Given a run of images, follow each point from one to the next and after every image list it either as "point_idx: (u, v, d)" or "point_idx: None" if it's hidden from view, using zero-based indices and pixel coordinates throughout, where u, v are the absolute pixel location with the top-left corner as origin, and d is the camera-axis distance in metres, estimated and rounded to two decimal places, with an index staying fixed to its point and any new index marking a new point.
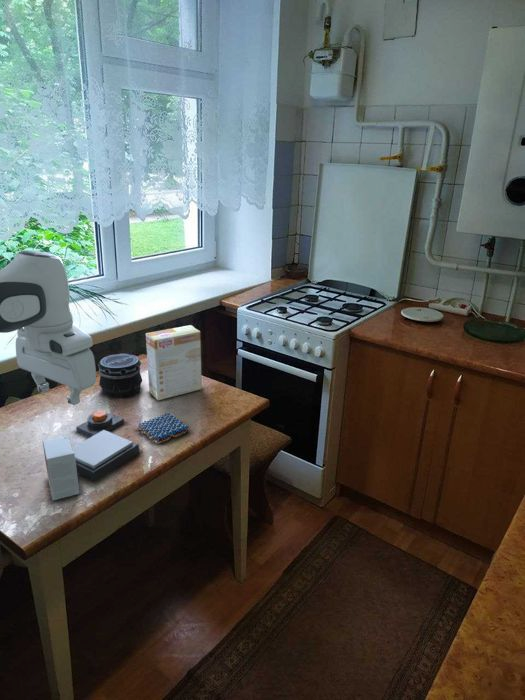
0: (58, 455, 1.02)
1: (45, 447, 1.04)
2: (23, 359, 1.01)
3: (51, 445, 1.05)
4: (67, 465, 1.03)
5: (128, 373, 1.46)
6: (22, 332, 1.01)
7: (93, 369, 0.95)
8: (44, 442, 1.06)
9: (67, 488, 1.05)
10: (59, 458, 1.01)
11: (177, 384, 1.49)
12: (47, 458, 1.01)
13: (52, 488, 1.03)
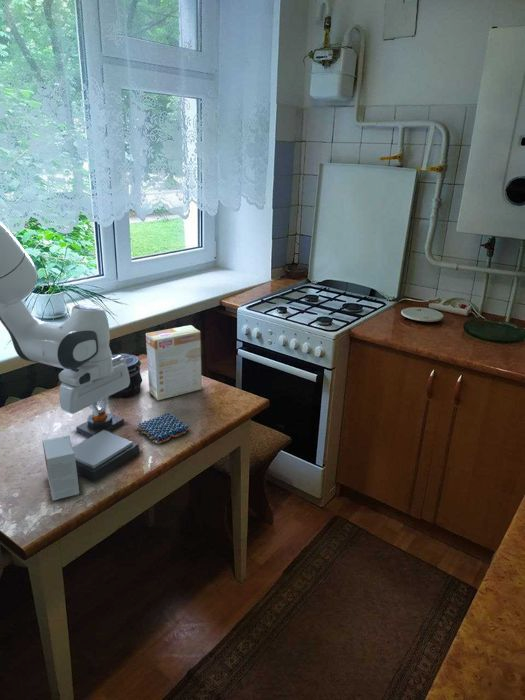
0: (58, 455, 1.02)
1: (45, 447, 1.04)
2: None
3: (51, 445, 1.05)
4: (67, 465, 1.03)
5: None
6: None
7: (68, 402, 1.19)
8: (44, 442, 1.06)
9: (67, 488, 1.05)
10: (59, 458, 1.01)
11: (177, 384, 1.49)
12: (47, 458, 1.01)
13: (52, 488, 1.03)
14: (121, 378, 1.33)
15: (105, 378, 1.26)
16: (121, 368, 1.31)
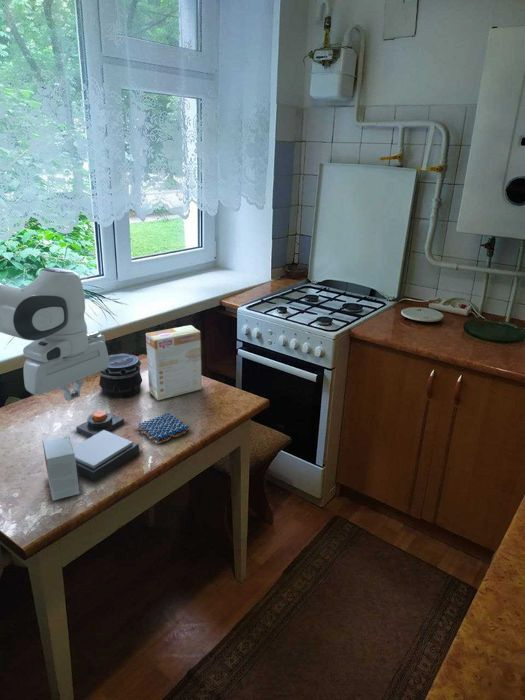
0: (58, 455, 1.02)
1: (45, 447, 1.04)
2: None
3: (51, 445, 1.05)
4: (67, 465, 1.03)
5: (128, 373, 1.46)
6: None
7: (33, 381, 1.01)
8: (44, 442, 1.06)
9: (67, 488, 1.05)
10: (59, 458, 1.01)
11: (177, 384, 1.49)
12: (47, 458, 1.01)
13: (52, 488, 1.03)
14: (99, 358, 1.15)
15: (79, 355, 1.08)
16: (98, 346, 1.14)
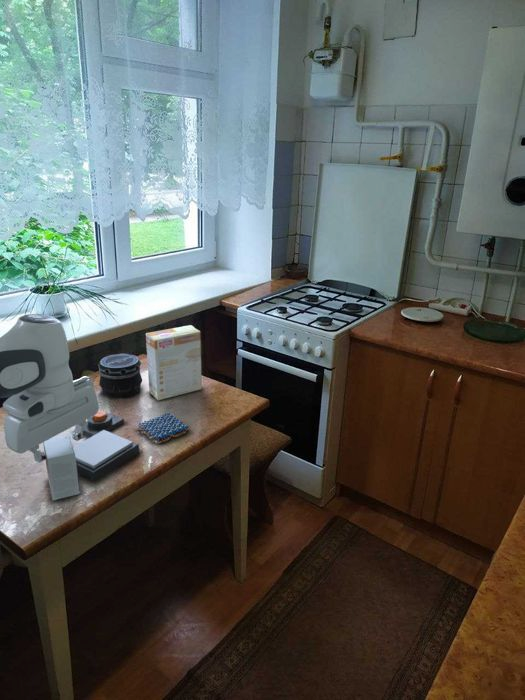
0: (59, 455, 1.02)
1: (45, 447, 1.04)
2: None
3: (51, 445, 1.05)
4: (67, 464, 1.03)
5: (128, 373, 1.46)
6: None
7: (15, 439, 0.94)
8: (44, 442, 1.06)
9: (67, 488, 1.05)
10: (59, 458, 1.01)
11: (177, 384, 1.49)
12: (47, 458, 1.01)
13: (52, 488, 1.03)
14: (87, 405, 1.07)
15: (64, 406, 1.00)
16: (86, 392, 1.06)
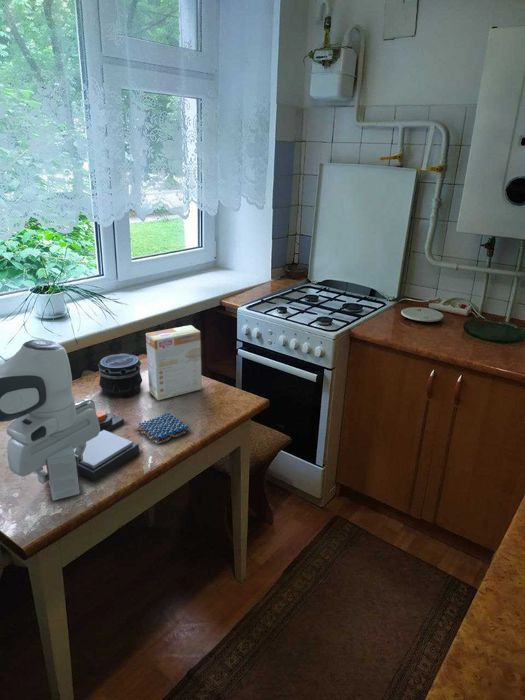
0: (59, 455, 1.02)
1: None
2: None
3: None
4: (67, 465, 1.03)
5: (128, 373, 1.46)
6: None
7: (17, 463, 0.95)
8: None
9: (67, 488, 1.05)
10: (59, 458, 1.01)
11: (177, 384, 1.49)
12: (47, 458, 1.01)
13: (52, 488, 1.03)
14: (89, 427, 1.09)
15: (66, 430, 1.02)
16: (88, 415, 1.08)
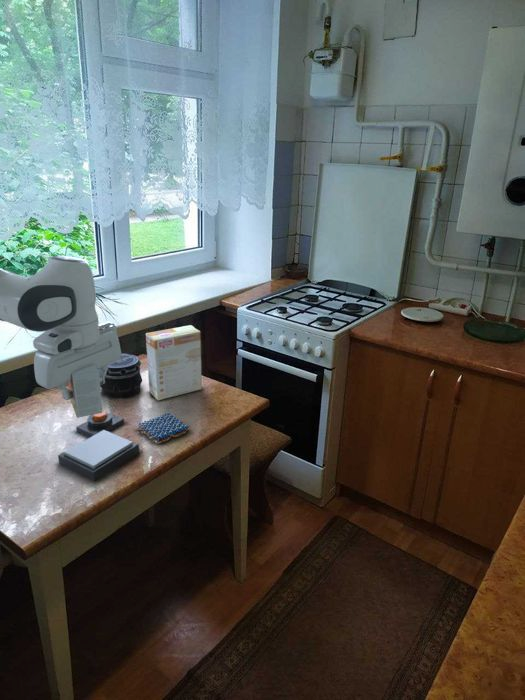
0: (83, 371, 1.04)
1: None
2: None
3: None
4: (91, 381, 1.05)
5: (128, 373, 1.46)
6: None
7: (44, 374, 0.98)
8: None
9: (91, 406, 1.07)
10: (83, 374, 1.04)
11: (177, 384, 1.49)
12: (72, 373, 1.03)
13: (77, 405, 1.06)
14: (110, 349, 1.11)
15: (90, 347, 1.04)
16: (110, 336, 1.10)
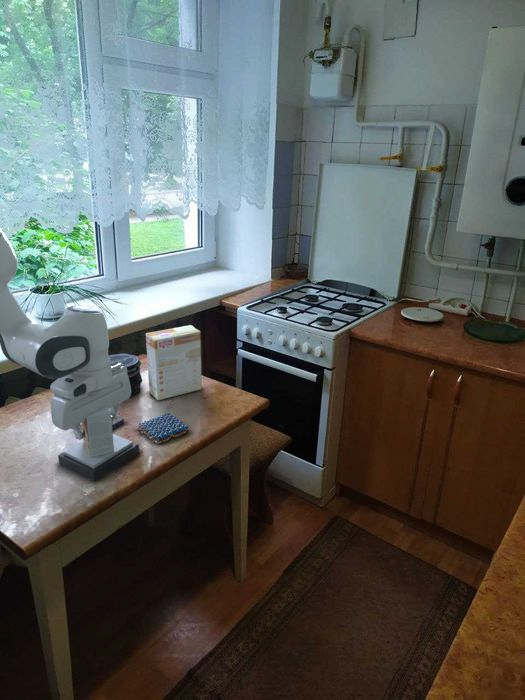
0: (96, 414, 1.11)
1: None
2: None
3: None
4: (104, 424, 1.12)
5: (128, 373, 1.46)
6: None
7: (61, 417, 1.04)
8: None
9: (103, 446, 1.14)
10: (97, 417, 1.11)
11: (177, 384, 1.49)
12: (87, 417, 1.10)
13: (90, 445, 1.12)
14: (121, 389, 1.18)
15: (103, 389, 1.11)
16: (121, 377, 1.17)
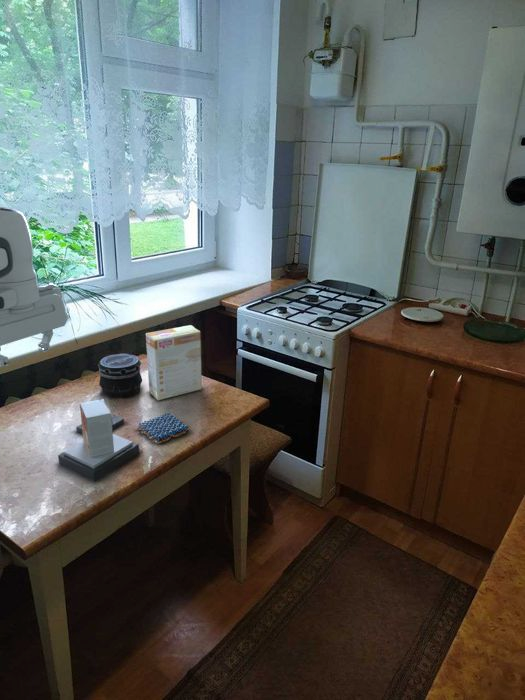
0: (97, 414, 1.11)
1: (83, 408, 1.13)
2: None
3: (88, 406, 1.14)
4: (104, 424, 1.12)
5: (128, 373, 1.46)
6: None
7: None
8: (81, 404, 1.15)
9: (103, 446, 1.14)
10: (97, 417, 1.11)
11: (177, 384, 1.49)
12: (87, 417, 1.10)
13: (90, 445, 1.12)
14: (54, 313, 1.03)
15: (28, 308, 0.96)
16: (52, 299, 1.02)
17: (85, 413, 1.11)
